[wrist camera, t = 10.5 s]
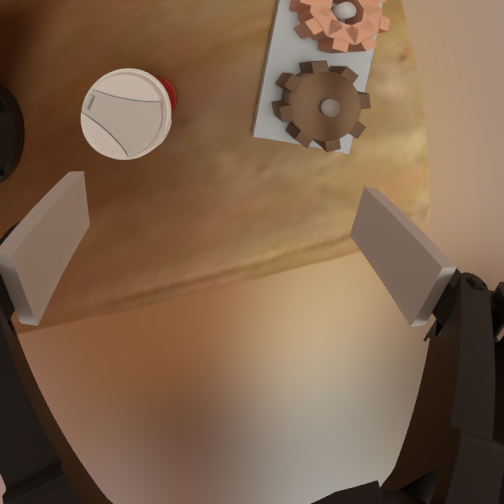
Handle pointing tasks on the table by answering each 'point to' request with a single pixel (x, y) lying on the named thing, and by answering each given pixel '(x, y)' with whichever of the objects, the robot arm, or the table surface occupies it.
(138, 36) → the table surface
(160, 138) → the paper cup
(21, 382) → the robot arm
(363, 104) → the gear
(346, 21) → the gear
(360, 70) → the gear board
